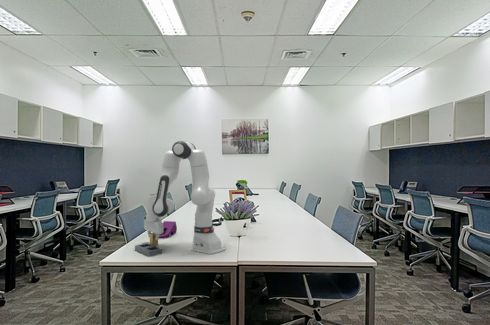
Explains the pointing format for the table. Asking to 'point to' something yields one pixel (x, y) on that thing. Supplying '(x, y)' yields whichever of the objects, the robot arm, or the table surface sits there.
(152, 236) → the bronze block
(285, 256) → the table surface
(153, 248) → the gray slotted block
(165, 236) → the mounting bracket
